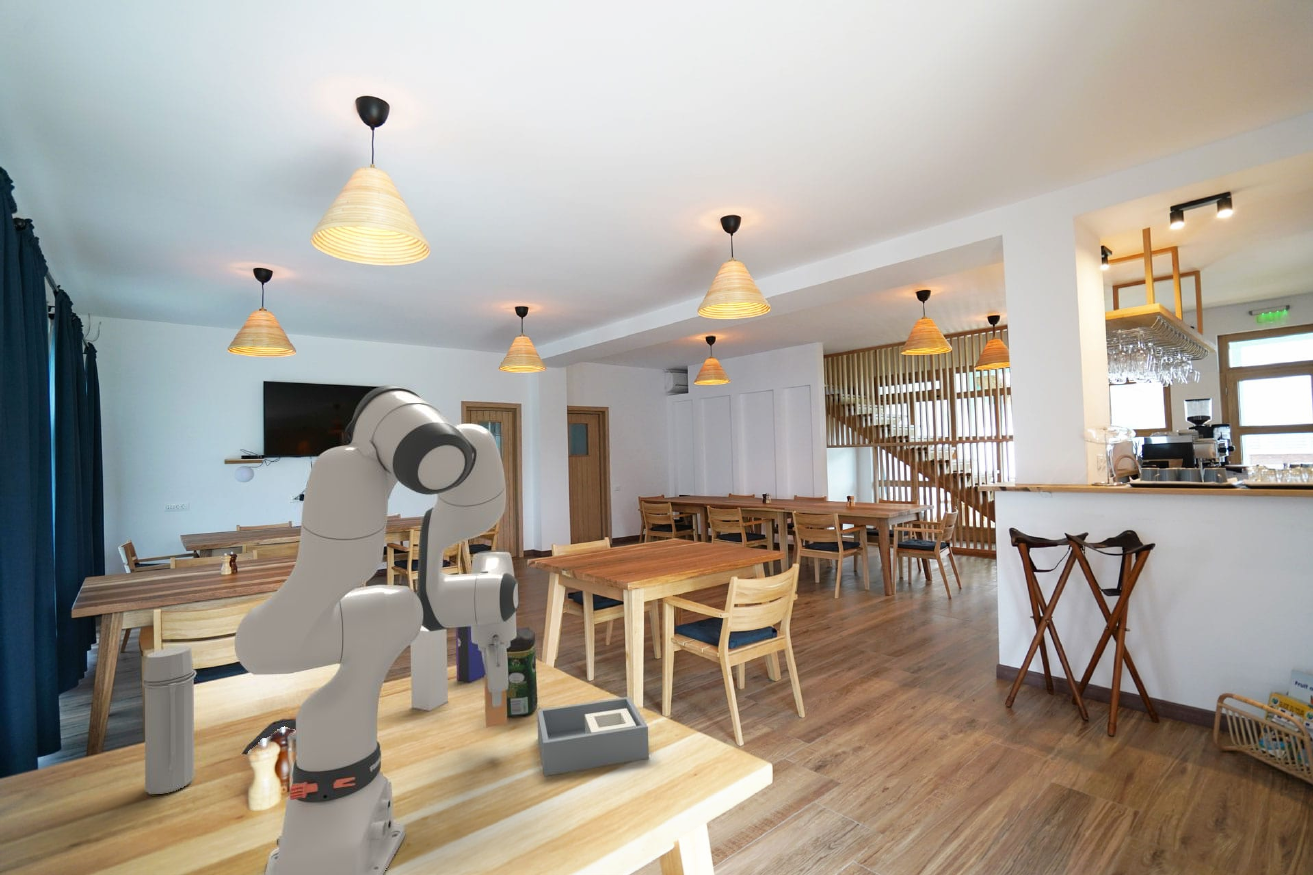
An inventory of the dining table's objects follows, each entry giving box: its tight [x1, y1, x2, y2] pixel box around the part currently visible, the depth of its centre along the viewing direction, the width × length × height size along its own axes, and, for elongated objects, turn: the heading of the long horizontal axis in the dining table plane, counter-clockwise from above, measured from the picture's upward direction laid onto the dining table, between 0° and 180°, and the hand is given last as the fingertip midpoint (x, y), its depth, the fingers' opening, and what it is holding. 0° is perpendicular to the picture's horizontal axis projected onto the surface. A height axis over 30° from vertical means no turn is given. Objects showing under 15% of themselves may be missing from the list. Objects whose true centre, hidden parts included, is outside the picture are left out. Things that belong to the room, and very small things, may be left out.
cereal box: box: [455, 626, 486, 684], centre depth 170 cm, size 17×5×24 cm, turn 150°
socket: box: [585, 708, 636, 734], centre depth 123 cm, size 9×9×4 cm
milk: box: [409, 626, 449, 712], centre depth 148 cm, size 6×6×22 cm
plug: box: [483, 675, 508, 729], centre depth 121 cm, size 4×4×10 cm
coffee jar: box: [506, 626, 538, 718], centre depth 143 cm, size 10×8×19 cm
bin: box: [536, 696, 650, 777], centre depth 122 cm, size 16×20×6 cm
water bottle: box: [141, 646, 197, 795], centre depth 112 cm, size 9×8×25 cm
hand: (495, 700), depth 121 cm, fingers closed on plug, 4 cm apart
